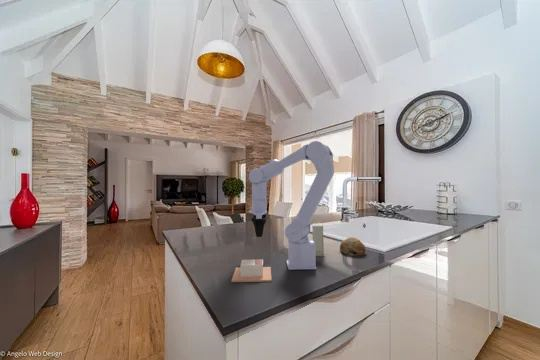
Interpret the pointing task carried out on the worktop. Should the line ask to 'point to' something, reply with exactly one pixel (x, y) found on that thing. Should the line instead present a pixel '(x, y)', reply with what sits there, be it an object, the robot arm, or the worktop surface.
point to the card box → (252, 268)
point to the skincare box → (318, 239)
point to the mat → (263, 278)
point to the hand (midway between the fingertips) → (259, 234)
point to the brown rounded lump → (352, 247)
